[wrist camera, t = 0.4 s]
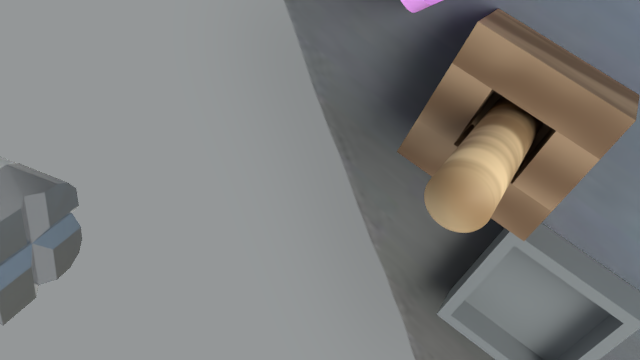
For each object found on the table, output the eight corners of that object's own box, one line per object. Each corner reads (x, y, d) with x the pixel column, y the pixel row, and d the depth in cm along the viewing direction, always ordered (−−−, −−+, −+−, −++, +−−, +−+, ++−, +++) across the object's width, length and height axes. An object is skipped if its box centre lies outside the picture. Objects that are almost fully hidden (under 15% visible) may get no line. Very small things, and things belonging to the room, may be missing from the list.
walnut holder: (498, 8, 43) (478, 21, 38) (639, 95, 40) (635, 120, 36) (422, 128, 50) (396, 151, 45) (538, 207, 47) (523, 241, 43)
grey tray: (521, 208, 48) (511, 230, 45) (646, 295, 46) (644, 324, 43) (449, 291, 55) (436, 314, 52) (554, 369, 53) (547, 399, 50)
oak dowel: (509, 82, 44) (446, 155, 31) (554, 111, 43) (507, 198, 30) (481, 122, 46) (412, 204, 33) (523, 150, 45) (468, 245, 33)
